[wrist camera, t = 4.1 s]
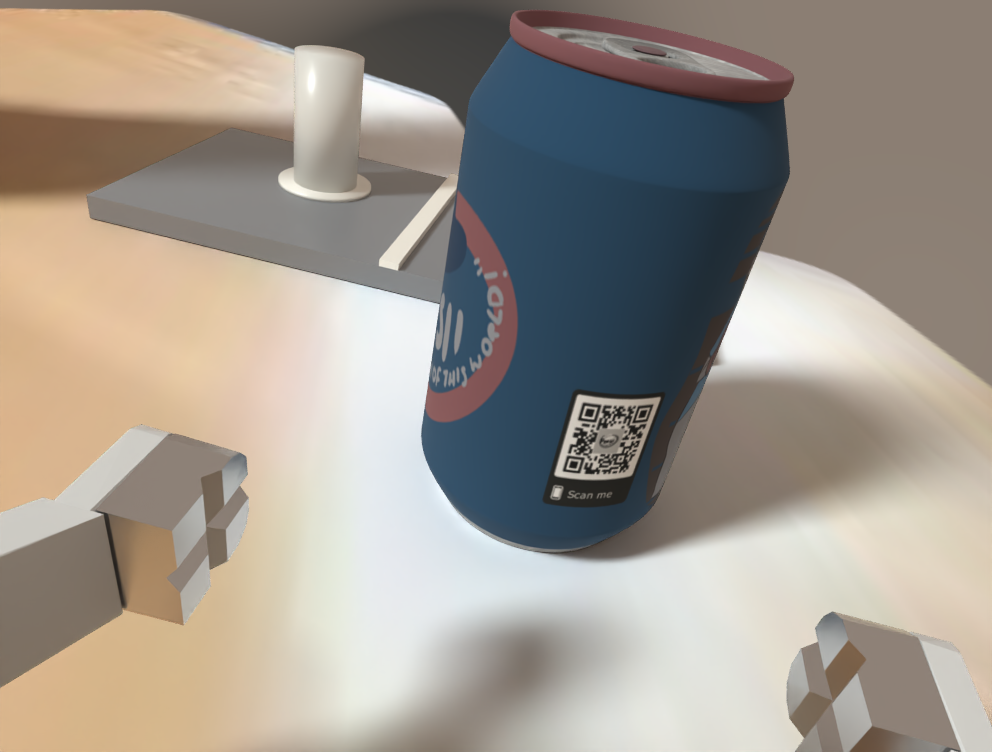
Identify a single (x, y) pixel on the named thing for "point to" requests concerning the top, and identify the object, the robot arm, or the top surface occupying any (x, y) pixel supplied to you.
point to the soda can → (594, 268)
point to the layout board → (300, 192)
